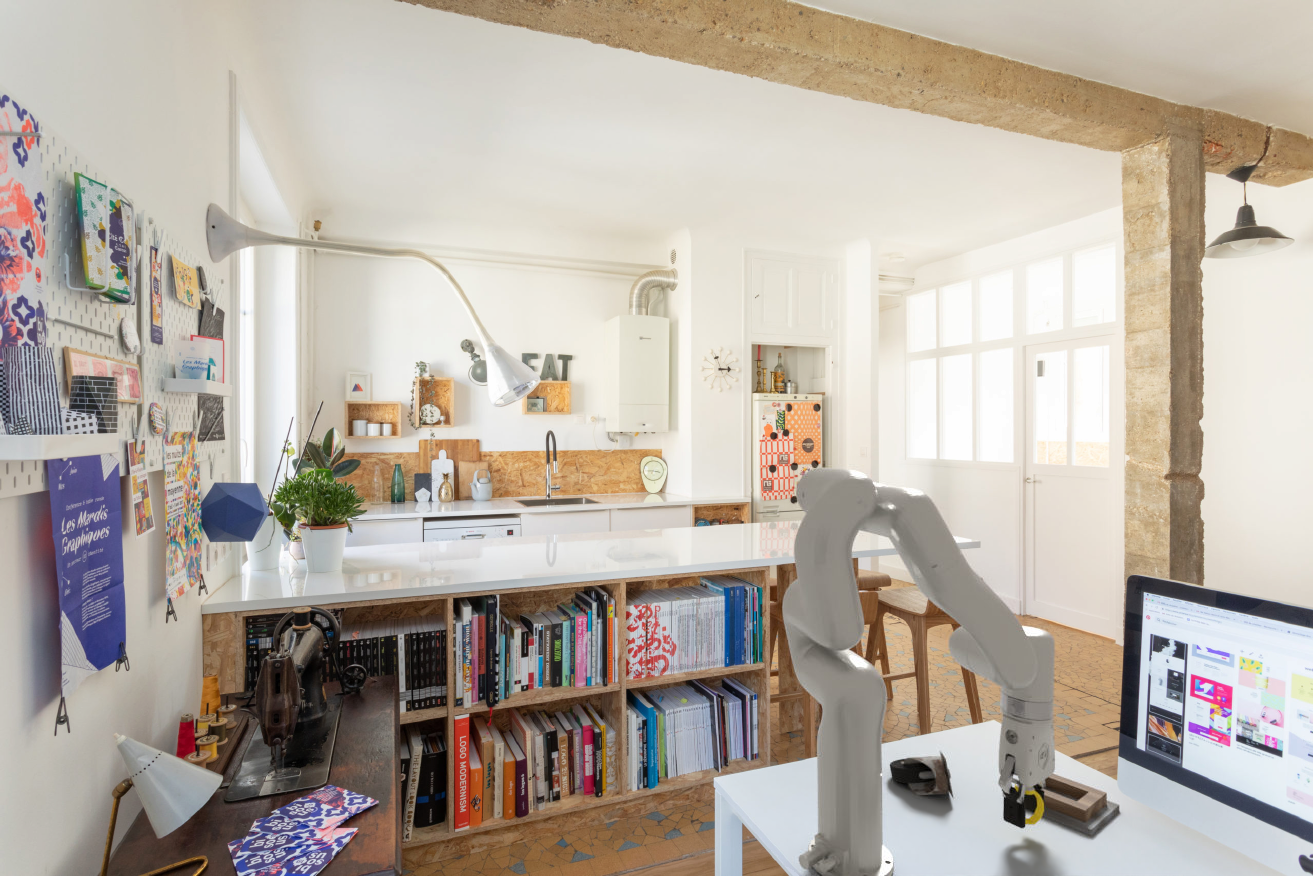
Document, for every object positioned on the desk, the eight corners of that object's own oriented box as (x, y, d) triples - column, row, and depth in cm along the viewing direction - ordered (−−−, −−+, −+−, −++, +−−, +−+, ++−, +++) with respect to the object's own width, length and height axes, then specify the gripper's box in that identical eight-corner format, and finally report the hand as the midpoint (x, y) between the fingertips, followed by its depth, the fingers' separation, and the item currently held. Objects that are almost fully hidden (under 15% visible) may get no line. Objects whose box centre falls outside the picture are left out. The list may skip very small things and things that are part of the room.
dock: (1091, 836, 111) (1091, 817, 111) (1003, 800, 122) (1003, 783, 122) (1119, 810, 118) (1119, 793, 118) (1034, 779, 129) (1034, 763, 129)
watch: (1034, 819, 112) (1038, 783, 112) (1045, 829, 109) (1049, 791, 109) (999, 817, 112) (1003, 780, 112) (1009, 826, 109) (1013, 789, 109)
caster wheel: (892, 785, 133) (946, 781, 131) (897, 802, 122) (957, 799, 120) (885, 748, 134) (939, 744, 132) (890, 761, 124) (948, 758, 122)
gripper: (1025, 725, 102) (1022, 847, 102) (1074, 702, 113) (1071, 812, 113) (976, 709, 108) (973, 824, 108) (1026, 688, 119) (1024, 792, 119)
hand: (1023, 816), depth 111 cm, fingers closed on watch, 5 cm apart
